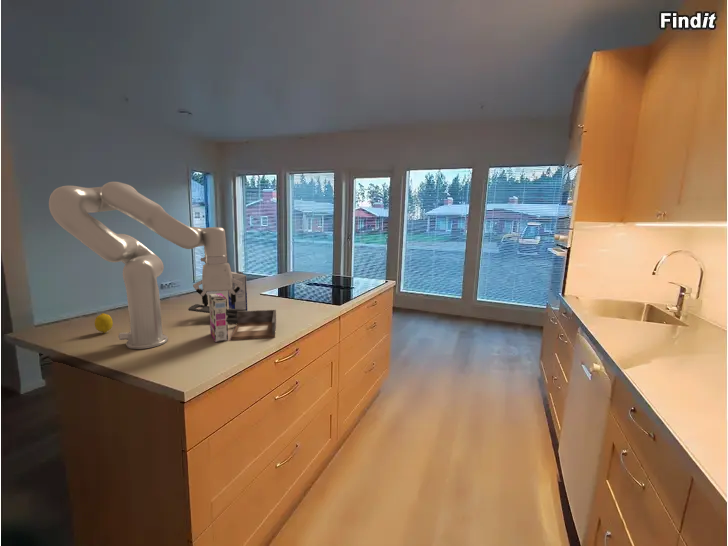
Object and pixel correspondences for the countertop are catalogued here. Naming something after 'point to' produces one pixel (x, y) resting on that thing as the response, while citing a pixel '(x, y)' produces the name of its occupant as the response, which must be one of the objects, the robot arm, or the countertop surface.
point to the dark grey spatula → (230, 312)
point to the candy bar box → (218, 317)
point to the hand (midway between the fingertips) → (219, 304)
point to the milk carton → (239, 292)
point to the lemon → (103, 323)
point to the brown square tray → (255, 324)
